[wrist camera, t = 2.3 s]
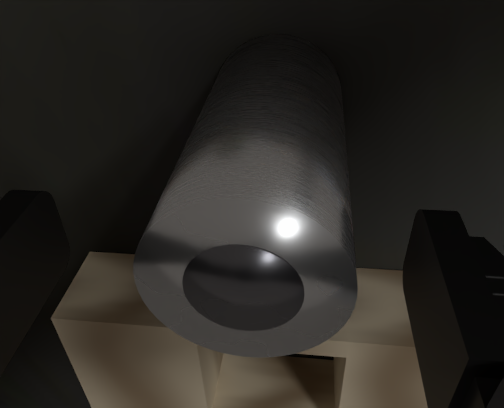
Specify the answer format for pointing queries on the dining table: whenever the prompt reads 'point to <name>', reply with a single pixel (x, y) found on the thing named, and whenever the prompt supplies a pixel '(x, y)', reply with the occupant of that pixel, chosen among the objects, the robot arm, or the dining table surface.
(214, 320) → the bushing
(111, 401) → the block
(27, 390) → the dining table surface
